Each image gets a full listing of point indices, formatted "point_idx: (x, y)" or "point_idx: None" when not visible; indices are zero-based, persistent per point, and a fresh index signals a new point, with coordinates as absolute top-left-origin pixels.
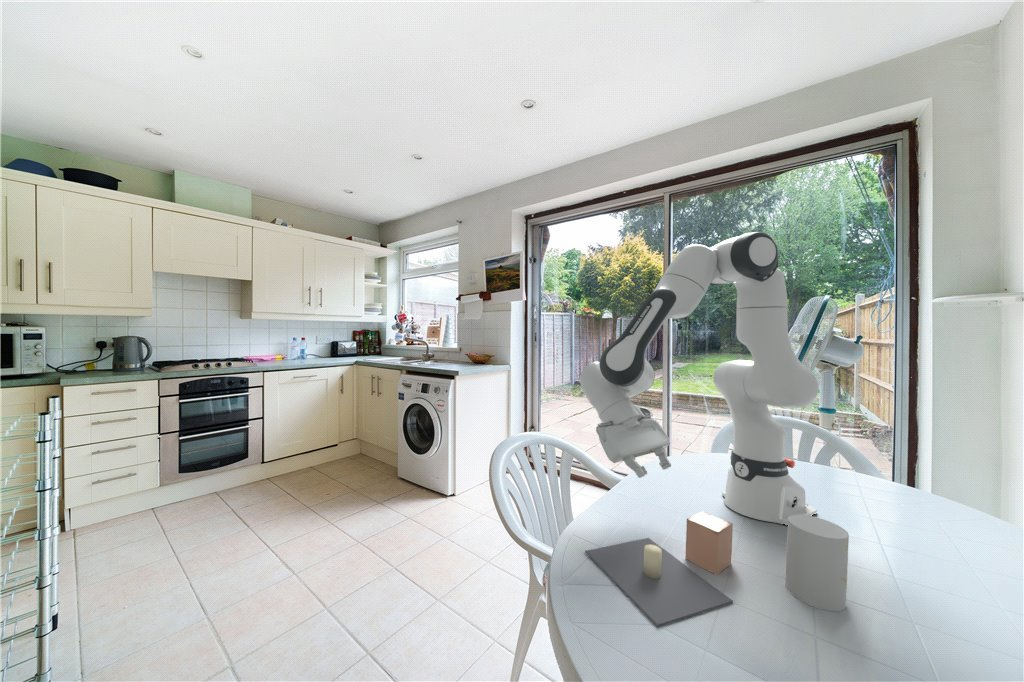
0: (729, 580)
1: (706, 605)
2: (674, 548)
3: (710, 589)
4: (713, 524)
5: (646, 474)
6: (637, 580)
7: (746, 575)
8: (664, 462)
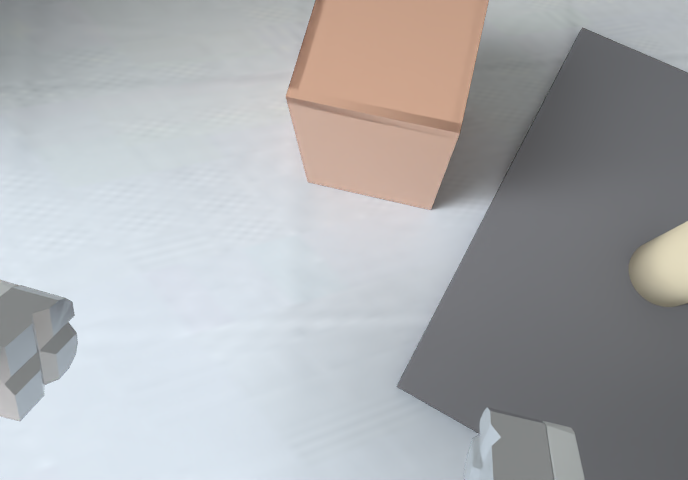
0: None
1: (681, 80)
2: (383, 267)
3: (582, 88)
4: (417, 17)
5: (484, 416)
6: None
7: None
8: (28, 340)
